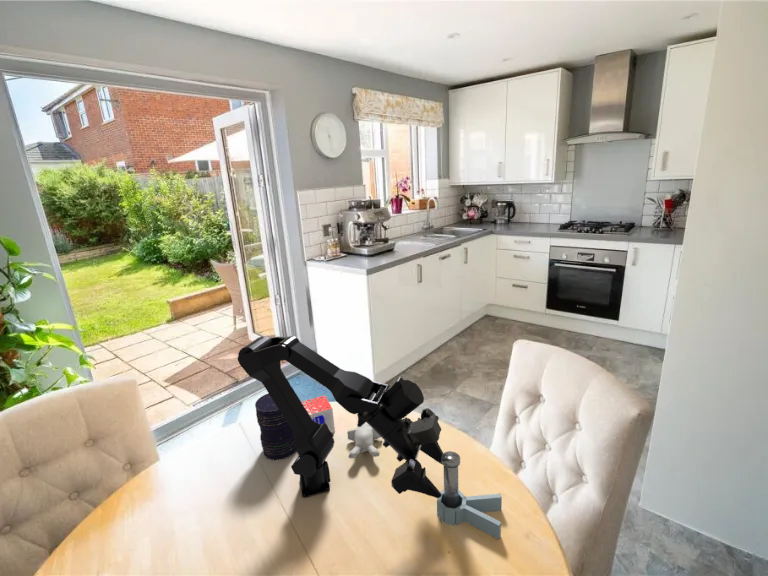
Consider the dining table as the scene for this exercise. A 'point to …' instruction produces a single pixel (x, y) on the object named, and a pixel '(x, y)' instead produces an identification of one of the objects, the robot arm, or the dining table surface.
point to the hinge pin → (451, 479)
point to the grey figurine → (363, 440)
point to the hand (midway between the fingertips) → (443, 479)
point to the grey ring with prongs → (473, 512)
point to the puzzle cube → (320, 411)
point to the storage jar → (274, 430)
